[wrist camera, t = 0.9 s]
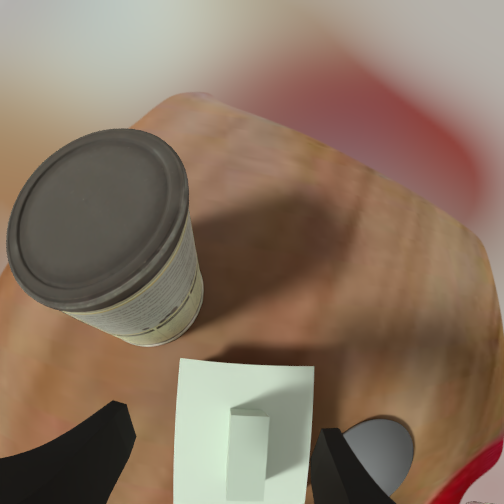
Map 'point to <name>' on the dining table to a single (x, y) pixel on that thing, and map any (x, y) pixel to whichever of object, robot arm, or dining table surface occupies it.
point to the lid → (242, 433)
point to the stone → (382, 451)
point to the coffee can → (110, 237)
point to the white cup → (477, 503)
